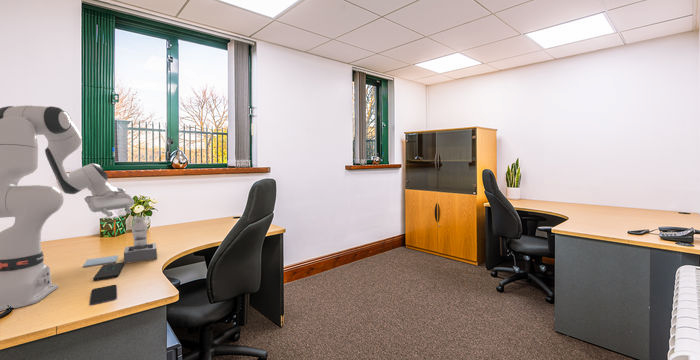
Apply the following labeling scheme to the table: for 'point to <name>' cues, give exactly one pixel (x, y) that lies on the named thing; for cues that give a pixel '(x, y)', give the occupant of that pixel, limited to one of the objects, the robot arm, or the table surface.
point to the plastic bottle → (139, 234)
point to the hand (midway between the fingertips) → (120, 214)
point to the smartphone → (103, 294)
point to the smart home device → (109, 271)
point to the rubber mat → (100, 261)
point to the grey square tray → (140, 253)
